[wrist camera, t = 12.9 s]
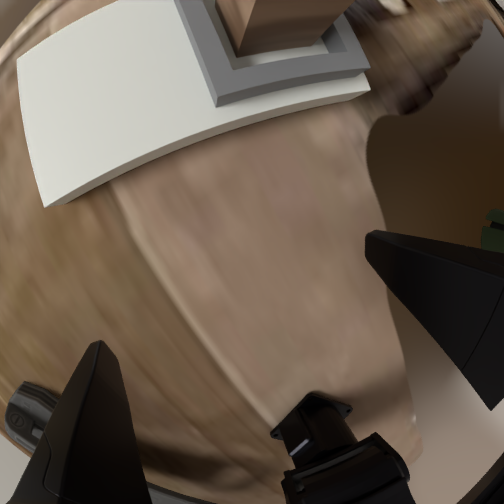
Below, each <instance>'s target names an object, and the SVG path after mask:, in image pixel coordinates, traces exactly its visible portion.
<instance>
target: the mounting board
mask: <svg viewBox="0 0 504 504" xmlns="http://www.w3.org/2000/svg"><path fill="white" fill-rule="evenodd" d="M369 68H371V67H370V65H369V62H368V60H367V58H366V56H365V54H364V52H363V50H362V48H361V45H360V43H359V41H358V40H357V38H356V36H355V34H354V32H353V30H352V28H351V26H350V24H349V23H348V21H347V19H346V17H345V15H344V14H343V13H342V14H341V15H340V16H339V17H338V18H337V19H336V20H335V21H334V22H333V23H332V24H331V26H330V27H329V28H328V29H327V30H326V31H325V32H324V33H323V34H322V35H321V36H320V37H319V39H318V40H317V41H316V42H315V43H314V44H313V45H312V46H309V47H299V48H291V49H284V50H277V51H271V52H265V53H259V54H254V55H249V56H244V57H239V58H236V56H235V54H234V51H233V49H232V46H231V44H230V41H229V39H228V37H227V34H226V32H225V30H224V27H223V25H222V23H221V20H220V18H219V16H218V13H217V11H216V9H215V0H119V1H116V2H114V3H112V4H109V5H107V6H105V7H103V8H101V9H99V10H96V11H94V12H92V13H90V14H88V15H86V16H84V17H82V18H81V19H79V20H77V21H75V22H73V23H71V24H70V25H68V26H66V27H64V28H63V29H61V30H59V31H58V32H56V33H54V34H53V35H51V36H50V37H48V38H47V39H45V40H43V41H42V42H40V43H39V44H38V45H36V46H35V47H33V48H32V49H30V50H29V51H28V52H26V53H25V54H24V55H22V56H21V57H20V58H18V59H17V72H18V86H19V96H20V104H21V111H22V118H23V124H24V130H25V135H26V140H27V145H28V150H29V154H30V158H31V163H32V167H33V170H34V174H35V178H36V181H37V185H38V188H39V192H40V195H41V198H42V201H43V204H44V207H51V206H57V205H63V204H66V203H68V202H70V201H71V200H73V199H75V198H77V197H79V196H80V195H82V194H84V193H86V192H88V191H90V190H91V189H93V188H95V187H97V186H99V185H101V184H103V183H105V182H107V181H109V180H111V179H113V178H115V177H117V176H119V175H121V174H123V173H125V172H127V171H129V170H132V169H134V168H136V167H138V166H140V165H142V164H145V163H147V162H149V161H151V160H154V159H156V158H158V157H161V156H163V155H166V154H168V153H170V152H173V151H175V150H178V149H180V148H183V147H185V146H188V145H191V144H193V143H196V142H199V141H201V140H204V139H207V138H210V137H213V136H215V135H218V134H221V133H224V132H227V131H230V130H233V129H236V128H239V127H243V126H246V125H249V124H252V123H256V122H259V121H263V120H266V119H270V118H273V117H277V116H281V115H285V114H288V113H292V112H296V111H301V110H305V109H309V108H314V107H318V106H323V105H328V104H333V103H338V102H343V101H348V100H351V99H353V98H355V97H357V96H359V95H361V94H363V93H366V92H368V91H370V90H371V89H370V86H369V84H368V81H367V79H366V77H365V74H364V71H366V70H368V69H369Z"/></svg>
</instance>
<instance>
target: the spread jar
mask: <svg viewBox="0 0 504 504" xmlns="http://www.w3.org/2000/svg"><path fill="white" fill-rule="evenodd" d="M490 1H491V3H492V4H493V5H494V6H495V7H496V8H497V9H498V10H500V11H501V12H503V13H504V0H490Z"/></svg>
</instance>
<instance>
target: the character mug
mask: <svg viewBox="0 0 504 504" xmlns="http://www.w3.org/2000/svg"><path fill="white" fill-rule="evenodd" d="M486 219H487V220H491V221H492V223H491V225H490V227H486V226H483V228H482V236H481V247H482V249H484V250H490V251H496V252H502V253H504V211H502V210H499V209H493V210H491V211H490V212H489V213H488V215H487V216H486Z"/></svg>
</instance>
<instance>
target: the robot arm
mask: <svg viewBox="0 0 504 504" xmlns="http://www.w3.org/2000/svg"><path fill="white" fill-rule="evenodd" d="M365 257H366V259H367V261H368V262H369V264H370V265H371V266H372V267H373V269H374V270H375V271H376V272H377V274H378V275H379V276H380V277H381V279H382V280H383V281H384V283H385V284H386V285H387V287H388V288H389V289H390V290H391V291H392V292H393V294H394V295H395V296H396V297H397V298H398V299H399V300H400V301H401V302H402V303H403V304H404V305H405V306H406V308H407V309H408V310H409V311H410V312H411V313H412V314H413V315H414V317H415V318H416V319H417V320H418V321H419V322H420V323H421V324H422V326H423V327H424V328H425V329H426V330H427V331H428V333H429V334H430V335H431V336H432V337H433V338H434V339H435V340H436V342H437V343H438V344H439V345H440V347H441V348H442V349H443V350H444V351H445V353H446V354H447V355H448V356H449V357H450V359H451V360H452V361H453V362H454V364H455V365H456V366H457V367H458V369H459V370H460V371H461V373H462V374H463V375H464V376H465V378H466V379H467V380H468V382H469V383H470V384H471V386H472V387H473V388H474V390H475V391H476V392H477V394H478V395H479V396H480V398H481V399H482V400H483V402H484V403H485V405H486V406H487V407H488V409H489V410H490V411H492V410H493V408H495V406H496V405H497V404H498V403H499V402H500V401H501V400H502V399H503V398H504V253H502V252H496V251H490V250H484V249H479V248H474V247H469V246H468V247H466V246H464V245H459V244H454V243H449V242H443V241H438V240H432V239H427V238H421V237H416V236H410V235H405V234H399V233H392V232H387V231H380V230H374V231H372V232H369V233H367V234H366V236H365ZM310 398H311V399H310ZM352 410H353V408H352V407H351V406H350V405H347V404H344V403H341V402H338V401H335V400H332V399H328V398H325V397H322V396H320V395H317V394H314V393H309V394H307V395H306V396H305V397H304V398H303V399H302V400H301V401H300V403H299V404H298V405H297V406H296V407H295V408H294V409H293V410H292V411H291V412H290V413H289V414H288V415H287V416H286V417H285V418H284V419H283V420H282V421H281V422H280V423H279V424H278V425H277V426H276V427H275V428H274V429H273V430H272V431H271V432H270V435H271V437H272V438H274V439H278V440H283V441H284V444H285V447H286V449H287V452H288V455H289V456H291V457H292V460H293V462H294V465H295V468H296V469H293V470H287V471H284V476H285V479H283V480H282V481H281V485H282V488H283V491H284V494H285V498H286V504H416V503H415V501H414V499H413V497H412V495H411V493H410V490H409V487H408V484H407V482H409V480H410V474H409V471H408V468H407V466H406V464H405V462H404V460H403V459H402V457H401V456H400V455H399V454H398V453H397V452H396V451H395V450H394V449H393V448H392V447H391V446H390V445H389V444H388V443H387V442H386V441H385V440H384V439H383V438H382V437H381V436H380V435H379V434H378V433H377V432H374V433H373V434H371V435H370V436H369V437H367V438H365V439H363V440H361V441H359V442H358V441H357V439H356V437H355V436H354V434H353V433H352V431H351V430H350V428H349V426H348V425H347V423H346V422H345V420H344V419H345V418H346V417H347V416H348V415H349V414H350V413H351V412H352ZM6 504H153V503H152V499H151V496H150V493H149V490H148V486H147V483H146V479H145V476H144V472H143V468H142V464H141V460H140V456H139V452H138V448H137V443H136V438H135V434H134V429H133V423H132V418H131V412H130V407H129V402H128V398H127V395H126V391H125V387H124V383H123V379H122V375H121V370H120V366H119V362H118V359H117V358H116V356H115V355H114V353H113V352H112V351H111V350H110V348H109V347H108V346H107V345H106V343H105V342H104V341H102V340H99V341H96V342H93V343H91V344H90V345H89V347H88V348H87V350H86V352H85V353H84V355H83V357H82V359H81V360H80V362H79V364H78V366H77V367H76V369H75V371H74V373H73V374H72V376H71V378H70V380H69V382H68V384H67V385H66V387H65V389H64V391H63V393H62V395H61V397H60V399H59V401H58V403H57V405H56V406H55V408H54V410H53V412H52V415H51V417H50V419H49V421H48V423H47V425H46V427H45V429H44V432H43V433H42V436H41V438H40V440H39V442H38V444H37V446H36V449H35V451H34V453H33V455H32V457H31V459H30V461H29V463H28V465H27V467H26V469H25V471H24V473H23V475H22V477H21V479H20V481H19V483H18V485H17V488H16V490H15V492H14V494H13V496H12V497H11V499H10V500H9V501H8V502H7V503H6ZM457 504H504V452H503V454H502V455H501V456H500V457H499V459H498V460H497V461H496V462H495V463H494V465H493V466H492V467H491V468H490V469H489V471H488V472H487V473H486V474H485V475H484V476H483V477H482V478H481V480H480V481H479V482H478V483H477V484H476V485H475V486H474V487H473V488H472V489H471V490H470V491H469V492H468V493H467V494H466V495H465V496H464V497H463V498H462V499H461V500H460V501H459V502H458V503H457Z"/></svg>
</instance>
